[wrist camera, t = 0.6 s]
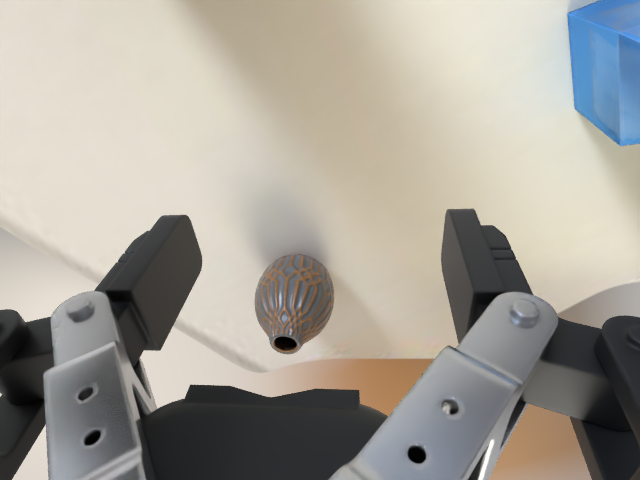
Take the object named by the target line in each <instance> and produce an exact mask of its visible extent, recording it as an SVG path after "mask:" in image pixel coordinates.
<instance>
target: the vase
mask: <svg viewBox="0 0 640 480" xmlns="http://www.w3.org/2000/svg"><path fill="white" fill-rule="evenodd" d="M333 304H334V289H333V284H332V281H331V278H330V276H329V274H328V272H327V270H326V269H325V268H324V267H323V266H322V265H321V264H320V263H319V262H318V261H316V260H315V259H313V258H311V257H308V256H304V255H288V256H285V257H282V258H279V259H278V260H276V261H275V262H273V263H272V264H271V265H270V266H269V267H268V268H267V269H266V270H265V272H264V273H263V275H262V276H261V278H260V281H259V283H258V286H257V289H256V293H255V311H256V316H257V319H258V321H259V324H260V325H261V327H262V329H263V330H264V331H265V333H266V334H267V336H268V337H269V340H270V344H271V346H272V348H273V349H274V350H276V351H277V352H280V353H283V354H292V353H295V352H297V351H298V350H299V349H300V348H301V347H302V345H303V344H304V343H306V342H308V341H309V340H311V339H312V338H314V337H315V336H317V335H318V334H319V333H320V332H321V331H322V330H323V328H324V327H325V325H326V324H327V322H328V320H329V318H330V316H331V313H332V309H333Z"/></svg>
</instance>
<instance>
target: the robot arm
mask: <svg viewBox="0 0 640 480" xmlns="http://www.w3.org/2000/svg"><path fill="white" fill-rule="evenodd" d="M441 263H442V272H443V276H444V281H445V285H446V290H447V294H448V299H449V303H450V307H451V312H452V316H453V321H454V325H455V329H456V334H457V338H458V343H459V345H458V346H457V347H456V348H453V347H451V346H446V347H445V348H444V349H443V350H442V351H441V352H440V353H439V354H438V356H437V357H436V358H435V359H434V361H433V362H432V363H431V364H430V366H429V367H428V368H427V369H426V371H425V372H424V373H423V374H422V376H421V377H420V378H419V379H418V380H417V382H416V383H415V384H414V385H413V387H412V388H411V389H410V390H409V392H408V393H407V394H406V395H405V397H404V398H403V399H402V400H401V402H400V403H399V404H398V405H397V406H396V408H395V409H394V410H393V411H392V413H391V414H390V415H389V416H387V415H385V414H383V413H381V412H380V411H378V410H375V409H373V408H371V407H368V406H365V405H362V404H360V400H359V399H360V398H359V390H337V389H313V390H307V391H303V392H297V393H292V394H287V395H282V396H277V397H265V396H262V395H258V394H255V393H252V392H248V391H245V390H242V389H238V388H235V387H232V386H214V385H213V386H212V385H190V387H189V390H188V392H187V394H186V397H185V399H181V400H178V401H175V402H172V403H169V404H167V405H165V406H162V407H160V408H158V409H157V406H156V404H155V400H154V397H153V394H152V391H151V387H150V384H149V381H148V378H147V375H146V372H145V368H144V365H143V363H142V361H141V359H140V356H141V354H142V352H143V351H144V350H161V348H162V346H163V344H164V342H165V340H166V338H167V336H168V334H169V332H170V330H171V328H172V326H173V325H174V323H175V321H176V319H177V317H178V315H179V313H180V311H181V309H182V307H183V305H184V303H185V301H186V299H187V297H188V295H189V293H190V291H191V289H192V287H193V285H194V283H195V281H196V279H197V277H198V276H199V274H200V271H201V268H202V255H201V251H200V248H199V245H198V242H197V239H196V236H195V233H194V230H193V227H192V223H191V221H190V219H189V217H188V216H187V215H164V216H161V217H160V218H159V220H158V221H157V222H156V224H155V225H154V226H153V227H152V229H151V230H150V231H147V232H145V233H144V234H142V235H141V236H139V237H138V238H137V239H135V240H134V241H133V242H132V243H131V245H130V246H129V247H128V248H127V250H126V251H125V254H123V255H122V256H121V257H120V259H119V260H118V263H116V264H115V265H114V266H113V267H112V269H111V270H110V271H109V273H108V274H107V275H106V276H105V278H104V279H103V280H102V281H101V283H100V284H99V285H98V286H97V288H96V289H95V290H94V291H90V292H84V293H81V294H78V295H76V296H73V297H71V298H69V299H68V300H66V301H65V302H63V303H62V304H61V305H59V306H58V307H57V309H56V310H55V311H54V313H53V314H52V316H51V317H47V318H43V319H39V320H34V321H30V322H25V321H24V320H23V319H22V317H21V316H20V315H19V313H18V312H17V311H14V310H0V393H1V394H2V396H1V397H0V480H12V478H13V477H14V475H15V474H16V472H17V470H18V469H19V467H20V465H21V464H22V462H23V460H24V459H25V457H26V455H27V454H28V452H29V451H30V449H31V447H32V446H33V444H34V442H35V441H36V439H37V437H38V436H39V434H40V433H41V431H42V429H43V428H44V426H45V424H46V438H47V457H48V476H49V480H488V479H489V478H490V475H491V473H492V471H493V469H494V466H495V464H496V462H497V460H498V458H499V456H500V454H501V452H502V450H503V449H504V447H505V445H506V443H507V442H508V440H509V438H510V436H511V434H512V432H513V431H514V429H515V427H516V425H517V423H518V422H519V420H520V418H521V416H522V414H523V412H524V411H525V409H526V407H527V405H528V404H532V405H535V406H538V407H542V408H545V409H548V410H551V411H555V412H557V413H561V414H564V415H567V416H570V419H571V422H572V425H573V428H574V430H575V433H576V436H577V439H578V442H579V444H580V447H581V450H582V453H583V456H584V458H585V461H586V464H587V467H588V469H589V472H590V475H591V478H592V480H640V318H639V317H634V316H616V317H612V318H610V319H608V320H607V321H606V322H605V323H604V324H603V326H602V329H599V328H595V327H590V326H587V325H582V324H577V323H574V322H570V321H567V320H564V319H561V318H559V317H558V316H557V314H556V312H555V310H554V309H553V308H552V307H551V306H550V305H549V304H548V303H547V302H546V301H544V300H542V299H541V298H539V297H537V296H534V295H533V293H532V291H531V289H530V287H529V285H528V283H527V280H526V278H525V276H524V274H523V272H522V270H521V268H520V266H519V263H518V261H517V260H516V257H515V255H514V253H513V251H512V250H511V246H510V244H509V242H508V240H507V238H506V236H505V235H504V234H503V233H502V232H500V231H499V230H498V229H497V228H496V227H494V226H493V225H484V226H481V225H480V222H479V220H478V217H477V215H476V212H475V210H474V209H448V210H447V211H446V216H445V225H444V234H443V243H442V253H441Z"/></svg>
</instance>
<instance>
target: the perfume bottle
mask: <svg viewBox="0 0 640 480" xmlns="http://www.w3.org/2000/svg"><path fill="white" fill-rule="evenodd" d="M568 26H569V38H570V51H571V64H572V77H573V90H574V102H575V109H576V110H577V111H578V112H580V113H581V114H582V115H583V116H584V117H586V118H587V119H588V120H589V121H590V122H592V123H593V124H594V125H595V126H597V127H598V128H599V129H600V130H601V131H603V132H604V133H605V134H606V135H607V136H609V137H610V138H611V139H612V140H614V141H615V142H616V143H617V144H618V145H620V146H624V145H631V144H639V143H640V0H600V1H598V2H595V3H593V4H590V5H588V6H585V7H583V8H580V9H578V10H575V11H573V12H570V13H568Z"/></svg>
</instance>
